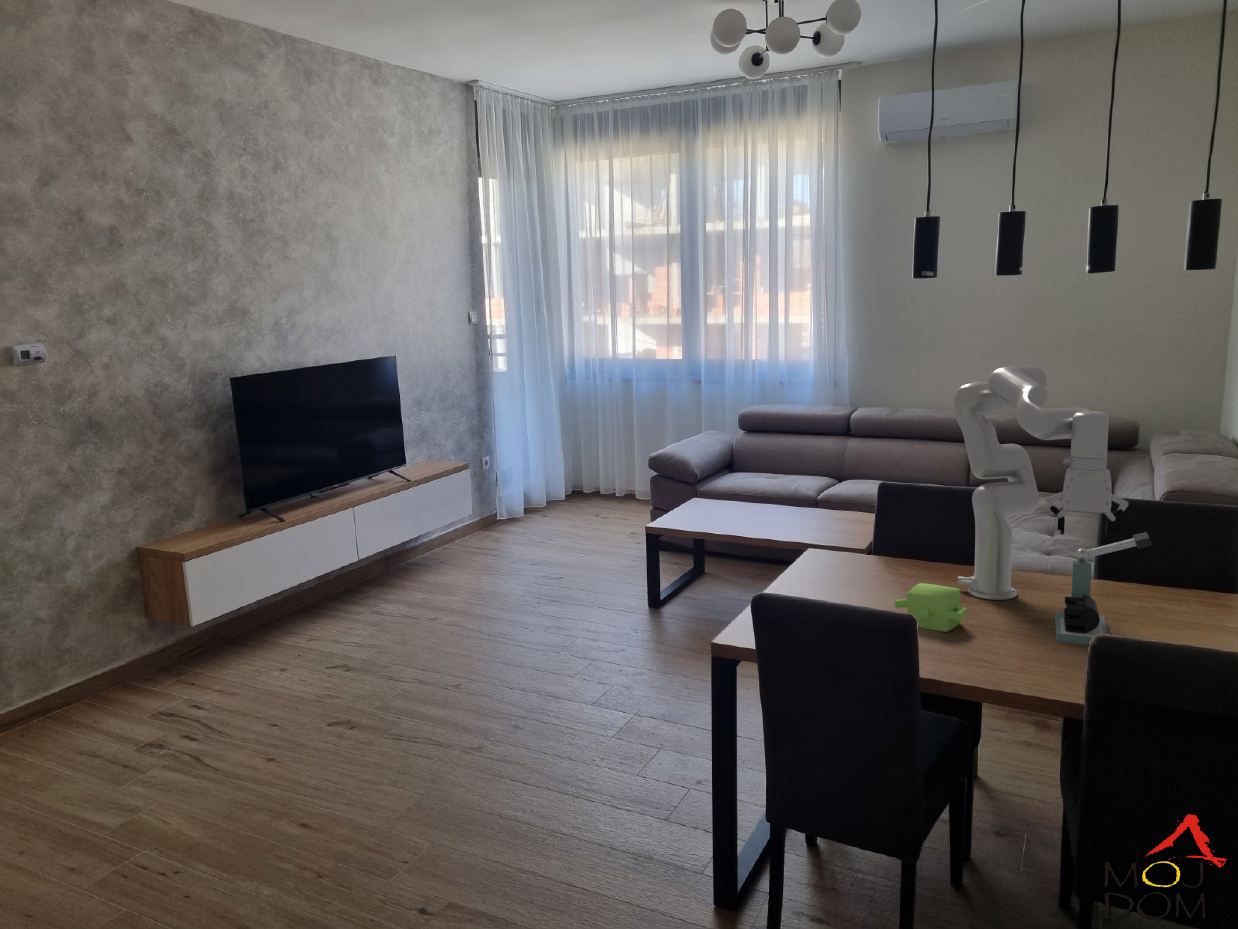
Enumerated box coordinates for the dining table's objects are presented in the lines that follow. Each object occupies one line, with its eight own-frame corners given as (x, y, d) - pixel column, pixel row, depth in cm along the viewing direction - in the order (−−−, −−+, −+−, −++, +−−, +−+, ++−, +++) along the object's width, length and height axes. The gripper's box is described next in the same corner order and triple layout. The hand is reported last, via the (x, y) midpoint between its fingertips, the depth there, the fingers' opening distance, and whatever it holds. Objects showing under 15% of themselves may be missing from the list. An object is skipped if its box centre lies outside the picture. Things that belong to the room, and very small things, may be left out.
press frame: (1056, 641, 211) (1058, 577, 208) (1054, 619, 226) (1057, 558, 223) (1108, 646, 206) (1111, 581, 203) (1103, 623, 221) (1106, 561, 219)
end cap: (1099, 635, 207) (1100, 608, 206) (1065, 632, 210) (1066, 605, 209) (1096, 622, 216) (1097, 595, 215) (1063, 619, 219) (1064, 592, 218)
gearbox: (887, 625, 228) (886, 590, 227) (904, 613, 235) (903, 579, 234) (956, 638, 216) (955, 601, 214) (972, 625, 223) (971, 589, 221)
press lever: (1078, 565, 216) (1074, 554, 216) (1077, 559, 222) (1073, 548, 222) (1152, 547, 209) (1148, 535, 209) (1149, 541, 214) (1145, 529, 214)
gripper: (1047, 465, 207) (1044, 536, 210) (1132, 468, 200) (1127, 541, 202) (1047, 460, 214) (1044, 528, 216) (1129, 462, 206) (1124, 533, 209)
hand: (1084, 534), depth 209 cm, fingers open, 9 cm apart
